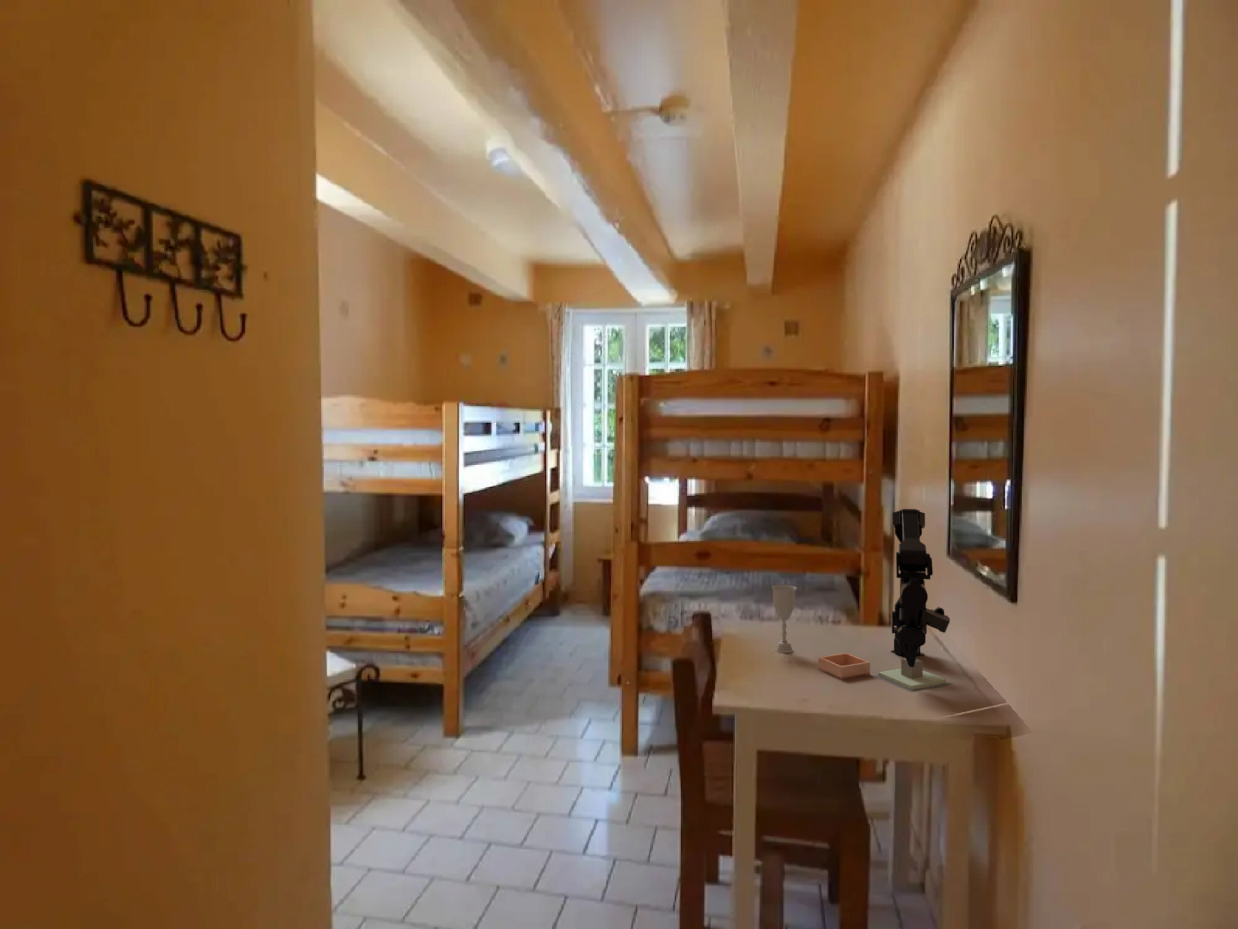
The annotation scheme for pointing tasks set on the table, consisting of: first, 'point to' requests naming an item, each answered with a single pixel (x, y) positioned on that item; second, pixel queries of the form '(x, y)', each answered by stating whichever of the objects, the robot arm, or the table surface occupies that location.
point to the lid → (912, 676)
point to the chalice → (784, 611)
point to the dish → (844, 666)
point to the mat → (914, 689)
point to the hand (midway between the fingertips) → (911, 661)
